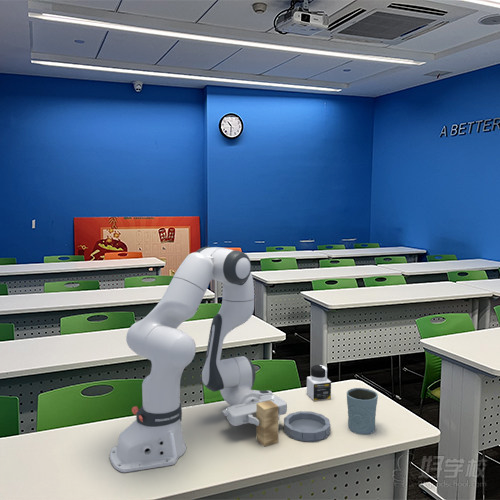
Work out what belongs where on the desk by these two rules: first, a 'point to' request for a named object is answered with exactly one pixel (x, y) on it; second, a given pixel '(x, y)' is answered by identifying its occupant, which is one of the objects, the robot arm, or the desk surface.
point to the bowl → (307, 426)
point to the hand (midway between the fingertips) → (268, 421)
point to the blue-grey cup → (361, 410)
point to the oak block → (267, 423)
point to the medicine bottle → (318, 384)
